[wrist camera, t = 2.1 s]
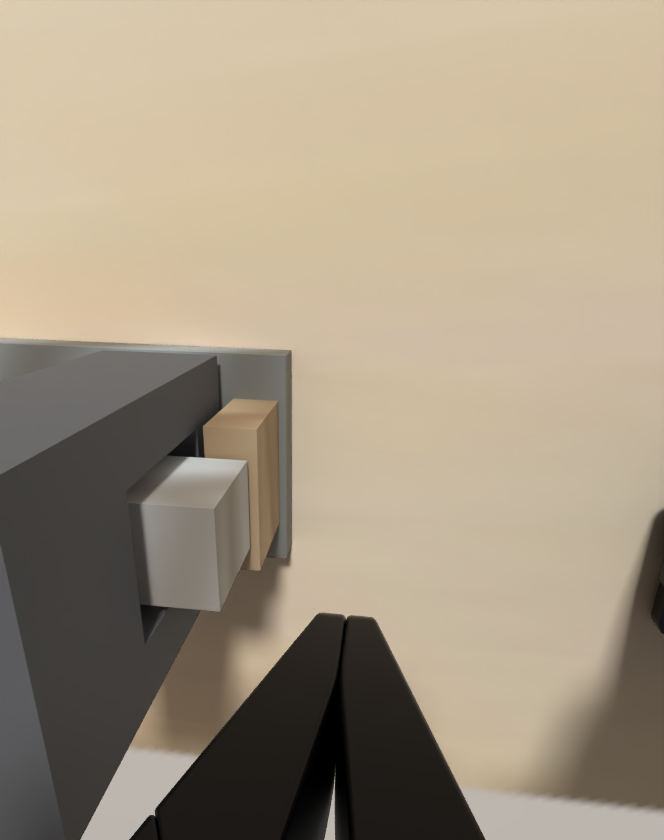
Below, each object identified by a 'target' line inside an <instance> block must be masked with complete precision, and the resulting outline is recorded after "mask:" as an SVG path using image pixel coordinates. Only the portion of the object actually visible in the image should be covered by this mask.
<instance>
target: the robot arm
mask: <svg viewBox="0 0 664 840" xmlns="http://www.w3.org/2000/svg"><path fill="white" fill-rule="evenodd" d="M659 580H660V584H659V588H658V591H657V595H656V598H655V602H654V605H653V609H652V612H651V618H652V620H653V622H654V624H655V625H656V626H657V628H658V629H659V630H660V632H661V633H663V634H664V561H663V564H662V568H661V571H660V575H659ZM335 770H336V771H335ZM334 779H335V840H485V838H484V836H483V834H482V832H481V830H480V828H479V826H478V824H477V822H476V820H475V818H474V816H473V814H472V812H471V810H470V808H469V806H468V804H467V802H466V800H465V798H464V796H463V794H462V792H461V790H460V788H459V786H458V784H457V782H456V780H455V778H454V776H453V774H452V772H451V770H450V768H449V766H448V764H447V762H446V760H445V758H444V756H443V754H442V752H441V750H440V748H439V746H438V744H437V742H436V740H435V738H434V736H433V734H432V732H431V730H430V728H429V726H428V724H427V722H426V720H425V718H424V716H423V714H422V712H421V710H420V708H419V706H418V704H417V702H416V700H415V698H414V696H413V694H412V692H411V690H410V688H409V686H408V684H407V682H406V680H405V678H404V675H403V673H402V671H401V669H400V667H399V665H398V663H397V661H396V659H395V657H394V655H393V653H392V651H391V649H390V647H389V645H388V643H387V641H386V639H385V637H384V635H383V633H382V631H381V629H380V627H379V625H378V623H377V622H376V620H375V619H374V618H372V617H364V616H354V615H350V616H348V617H347V619H346V618H345V616H344V615H342V614H332V613H319V614H317V615H316V616H315V617H314V619H313V620H312V621H311V622H310V623H309V625H308V626H307V627H306V628H305V629H304V631H303V632H302V633H301V634H300V635H299V637H298V638H297V639H296V640H295V641H294V643H293V644H292V645H291V646H290V647H289V649H288V650H287V651H286V652H285V654H284V655H283V656H282V657H281V658H280V660H279V661H278V662H277V663H276V664H275V666H274V667H273V668H272V669H271V670H270V672H269V673H268V674H267V675H266V676H265V678H264V679H263V680H262V681H261V682H260V684H259V685H258V686H257V687H256V688H255V690H254V691H253V692H252V693H251V694H250V696H249V697H248V698H247V699H246V700H245V702H244V703H243V704H242V705H241V706H240V708H239V709H238V710H237V711H236V712H235V714H234V715H233V716H232V717H231V718H230V720H229V721H228V722H227V723H226V724H225V726H224V727H223V728H222V729H221V730H220V732H219V733H218V734H217V735H216V736H215V738H214V739H213V740H212V741H211V742H210V744H209V745H208V746H207V747H206V749H205V750H204V751H203V752H202V753H201V755H200V756H199V757H198V758H197V759H196V761H195V762H194V763H193V764H192V765H191V767H190V768H189V769H188V770H187V771H186V773H185V774H184V775H183V776H182V777H181V779H180V780H179V781H178V782H177V784H176V785H175V786H174V787H173V788H172V789H171V791H170V792H169V793H168V794H167V796H166V797H165V798H164V799H163V800H162V802H161V803H160V804H159V805H158V806H157V808H156V810H155V816H154V815H150V816H149V817H148V818H147V819H146V820H145V821H144V823H143V824H142V825H141V826H140V827H139V829H138V830H137V831H136V832H135V833H134V835H133V836H132V837H131V838H130V839H129V840H324V838H325V832H326V828H327V822H328V817H329V812H330V806H331V800H332V794H333V787H334ZM155 817H156V818H155Z"/></svg>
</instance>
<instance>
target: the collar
mask: <svg viewBox="0 0 664 840" xmlns="http://www.w3.org/2000/svg"><path fill="white" fill-rule="evenodd" d="M218 412H219V392H218V372H217V355H201V354H179V353H156V352H134V351H111V350H102V351H99V352H95V353H92V354H89V355H86V356H82V357H79V358H76V359H73V360H69V361H66V362H63V363H60V364H57V365H53V366H50V367H47V368H44V369H40V370H37V371H34V372H31V373H27V374H24V375H21V376H18V377H15V378H11V379H8V380H5V381H2V382H0V840H80V839H81V837H82V835H83V833H84V831H85V830H86V828H87V826H88V824H89V822H90V820H91V818H92V816H93V814H94V812H95V811H96V808H97V807H98V805H99V803H100V801H101V799H102V797H103V795H104V793H105V791H106V789H107V788H108V785H109V784H110V782H111V780H112V778H113V776H114V774H115V772H116V771H117V769H118V767H119V765H120V763H121V761H122V759H123V757H124V755H125V753H126V751H127V750H128V748H129V746H130V744H131V742H132V740H133V738H134V736H135V734H136V732H137V731H138V729H139V727H140V725H141V723H142V721H143V719H144V717H145V715H146V713H147V711H148V710H149V708H150V706H151V704H152V702H153V700H154V698H155V696H156V694H157V692H158V690H159V689H160V687H161V685H162V683H163V681H164V679H165V677H166V675H167V673H168V671H169V670H170V668H171V666H172V664H173V662H174V660H175V658H176V656H177V654H178V652H179V650H180V649H181V647H182V645H183V643H184V641H185V639H186V637H187V635H188V633H189V631H190V630H191V628H192V626H193V624H194V622H195V620H196V618H197V616H198V614H199V612H200V610H196V609H185V608H174V607H163V606H152V605H141V604H140V602H139V594H138V585H137V577H136V569H135V561H134V552H133V544H132V536H131V528H130V519H129V511H128V503H127V494H126V491H127V490H128V489H129V488H130V487H131V486H133V485H134V484H135V483H136V482H137V481H138V480H139V479H140V478H142V477H143V476H144V475H145V474H146V473H147V472H148V471H149V470H151V469H152V468H153V467H154V466H155V465H156V464H157V463H158V462H160V461H161V460H162V459H163V458H164V457H165V456H166V455H167V456H183V457H198V458H205V453H204V437H203V426H204V425H205V424H206V423H207V422H208V421H209V420H211V419H212V418H213V417H214V416H215V415H216V414H217V413H218Z"/></svg>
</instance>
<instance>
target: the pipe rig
mask: <svg viewBox="0 0 664 840" xmlns="http://www.w3.org/2000/svg"><path fill="white" fill-rule="evenodd" d="M102 350H111V351H134V352H156V353H179V354H201V355H217V372H218V392H219V412H218V413H217V414H216V415H215V416H214V417H213V418H212V419H211V420H209V421H208V422H207V423H206V424H205V425H204V426H203V437H204V453H205V458H198V457H183V456H167V455H166V456H165V457H164V458H163V459H162V460H161V461H160V462H158V463H157V464H156V465H155V466H154V467H153V468H152V469H151V470H149V471H148V472H147V473H146V474H145V475H144V476H143V477H142V478H140V479H139V480H138V481H137V482H136V483H135V484H134V485H133V486H131V487H130V488H129V489H128V490H127V491H126V494H127V503H128V511H129V519H130V528H131V536H132V544H133V552H134V561H135V569H136V577H137V585H138V594H139V602H140V604H141V605H152V606H163V607H174V608H185V609H196V610H207V611H217V612H220V611H221V608H222V606H223V604H224V602H225V600H226V598H227V596H228V593H229V591H230V589H231V587H232V585H233V583H234V581H235V578H236V576H237V574H238V572H239V570H240V569H245V570H257V571H260V570H261V567H262V565H263V562H264V560H265V557H273V558H285V559H287V556H288V553H289V550H290V547H291V544H292V509H291V350H267V349H244V348H221V347H197V346H174V345H150V344H127V343H104V342H80V341H57V340H34V339H10V338H0V382H2V381H5V380H8V379H11V378H15V377H18V376H21V375H24V374H27V373H31V372H34V371H37V370H40V369H44V368H47V367H50V366H53V365H57V364H60V363H63V362H66V361H69V360H73V359H76V358H79V357H82V356H86V355H89V354H92V353H95V352H99V351H102Z"/></svg>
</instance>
